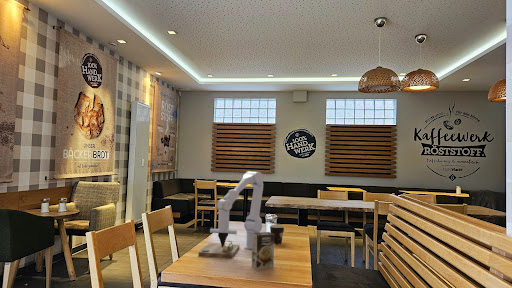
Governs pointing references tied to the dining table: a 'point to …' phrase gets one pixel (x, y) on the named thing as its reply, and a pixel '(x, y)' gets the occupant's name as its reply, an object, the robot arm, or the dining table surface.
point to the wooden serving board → (218, 251)
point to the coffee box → (263, 250)
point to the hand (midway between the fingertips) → (222, 246)
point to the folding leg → (226, 245)
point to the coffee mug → (277, 233)
